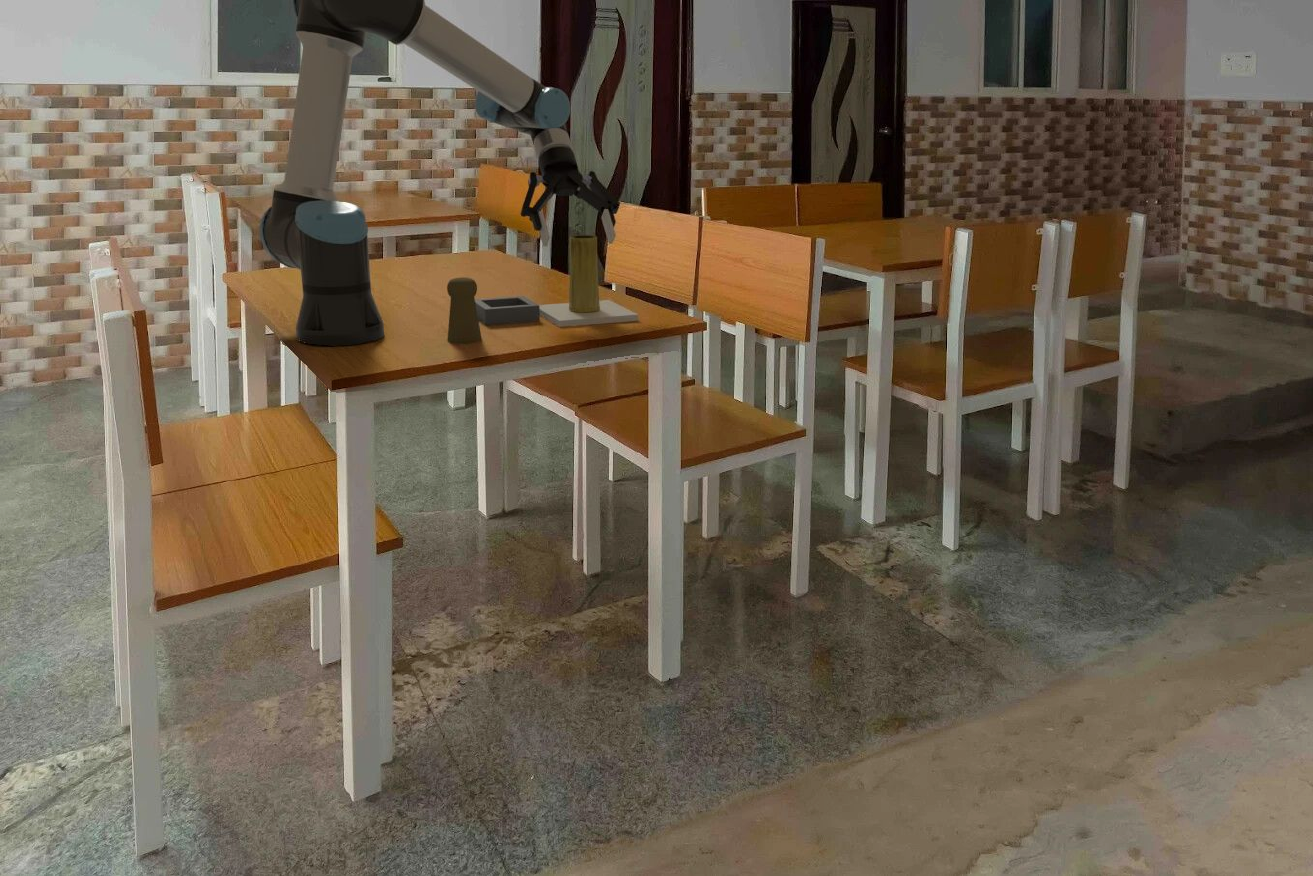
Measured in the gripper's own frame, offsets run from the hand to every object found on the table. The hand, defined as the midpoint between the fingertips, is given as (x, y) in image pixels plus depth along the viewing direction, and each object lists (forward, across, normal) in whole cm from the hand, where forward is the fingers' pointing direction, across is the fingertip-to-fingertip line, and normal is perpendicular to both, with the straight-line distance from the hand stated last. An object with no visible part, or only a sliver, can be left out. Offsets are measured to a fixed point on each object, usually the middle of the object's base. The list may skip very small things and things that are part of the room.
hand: (580, 240), depth 218 cm
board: (+13, +1, -7) cm, 15 cm away
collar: (+10, +16, -10) cm, 21 cm away
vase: (+12, +1, -6) cm, 14 cm away
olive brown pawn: (+22, +27, +2) cm, 35 cm away
